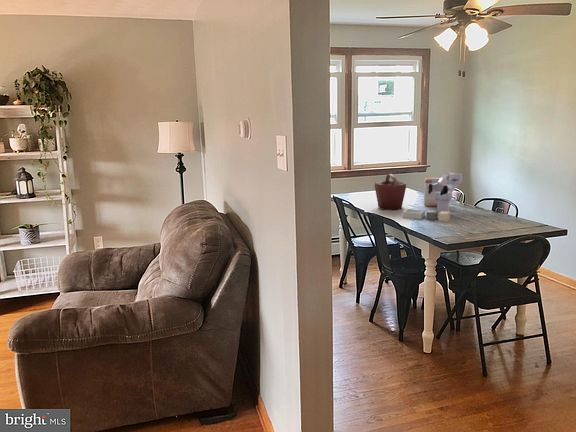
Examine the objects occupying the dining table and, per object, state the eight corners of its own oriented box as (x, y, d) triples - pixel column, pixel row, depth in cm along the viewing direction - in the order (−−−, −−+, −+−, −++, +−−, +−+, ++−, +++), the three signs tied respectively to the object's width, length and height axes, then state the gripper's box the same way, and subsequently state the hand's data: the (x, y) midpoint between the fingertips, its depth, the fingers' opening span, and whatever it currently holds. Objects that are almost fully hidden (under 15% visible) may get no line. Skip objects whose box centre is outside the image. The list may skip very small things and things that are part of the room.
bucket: (405, 211, 337) (406, 176, 332) (373, 210, 342) (374, 176, 336) (404, 204, 361) (405, 172, 355) (374, 204, 365) (375, 172, 360)
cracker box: (442, 204, 358) (443, 177, 353) (444, 206, 352) (445, 178, 347) (423, 204, 359) (424, 177, 354) (424, 206, 353) (425, 178, 349)
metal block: (429, 217, 319) (429, 209, 318) (437, 217, 316) (438, 210, 315) (426, 219, 312) (426, 212, 311) (434, 220, 309) (435, 212, 308)
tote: (407, 214, 328) (407, 208, 327) (425, 215, 322) (425, 210, 321) (402, 217, 318) (402, 211, 317) (420, 219, 312) (420, 213, 311)
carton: (441, 218, 314) (441, 210, 313) (449, 219, 312) (450, 211, 311) (438, 220, 308) (438, 213, 307) (447, 221, 305) (447, 214, 304)
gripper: (430, 177, 316) (423, 186, 306) (452, 180, 308) (446, 189, 299) (430, 187, 319) (423, 196, 309) (452, 190, 312) (446, 199, 302)
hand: (434, 193), depth 304 cm, fingers open, 7 cm apart
